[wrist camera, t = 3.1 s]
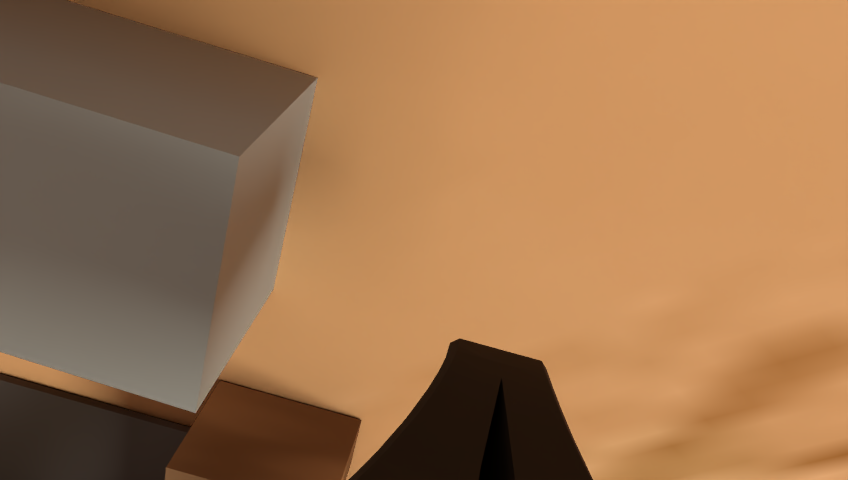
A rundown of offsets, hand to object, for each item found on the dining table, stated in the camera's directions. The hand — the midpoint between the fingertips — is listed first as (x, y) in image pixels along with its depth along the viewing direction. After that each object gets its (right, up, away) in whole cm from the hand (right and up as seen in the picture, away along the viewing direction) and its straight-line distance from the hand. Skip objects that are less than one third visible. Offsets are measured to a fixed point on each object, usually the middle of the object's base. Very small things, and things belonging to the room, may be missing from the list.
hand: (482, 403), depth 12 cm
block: (-7, +4, +5) cm, 10 cm away
